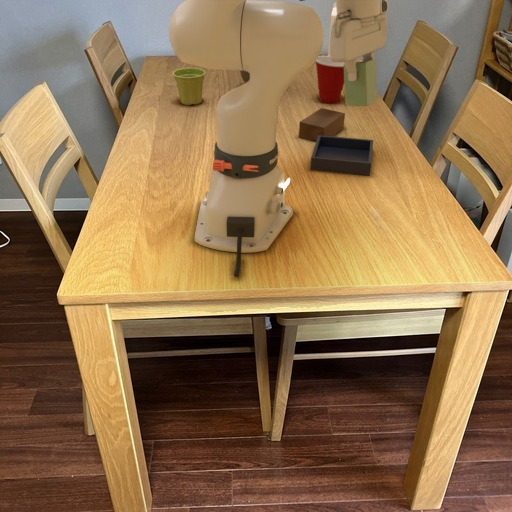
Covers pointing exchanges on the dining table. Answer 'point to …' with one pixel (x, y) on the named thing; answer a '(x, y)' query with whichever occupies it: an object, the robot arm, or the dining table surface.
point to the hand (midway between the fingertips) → (360, 77)
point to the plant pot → (189, 84)
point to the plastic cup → (329, 79)
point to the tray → (342, 155)
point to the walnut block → (321, 124)
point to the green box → (361, 84)
